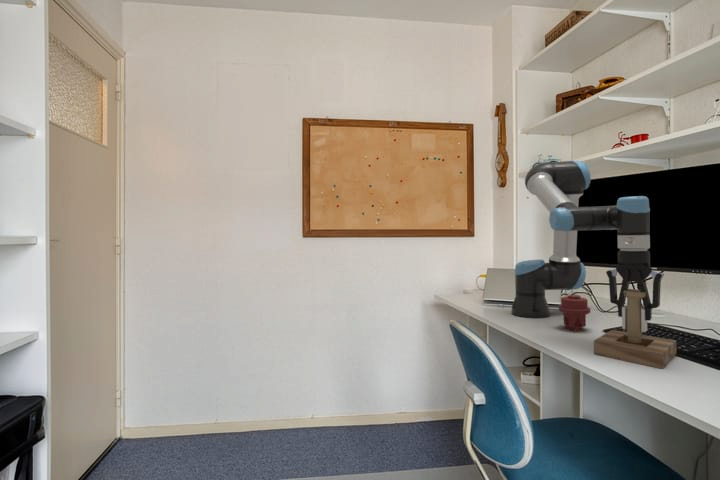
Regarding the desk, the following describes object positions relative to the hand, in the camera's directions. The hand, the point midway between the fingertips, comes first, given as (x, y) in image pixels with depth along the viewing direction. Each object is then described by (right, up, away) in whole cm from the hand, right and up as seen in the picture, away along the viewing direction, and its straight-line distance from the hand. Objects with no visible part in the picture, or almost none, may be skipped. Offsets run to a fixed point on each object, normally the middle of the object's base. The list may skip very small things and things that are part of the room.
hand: (634, 329), depth 107 cm
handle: (0, -4, 0) cm, 4 cm away
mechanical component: (-1, -7, +27) cm, 28 cm away
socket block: (0, -7, 0) cm, 7 cm away
